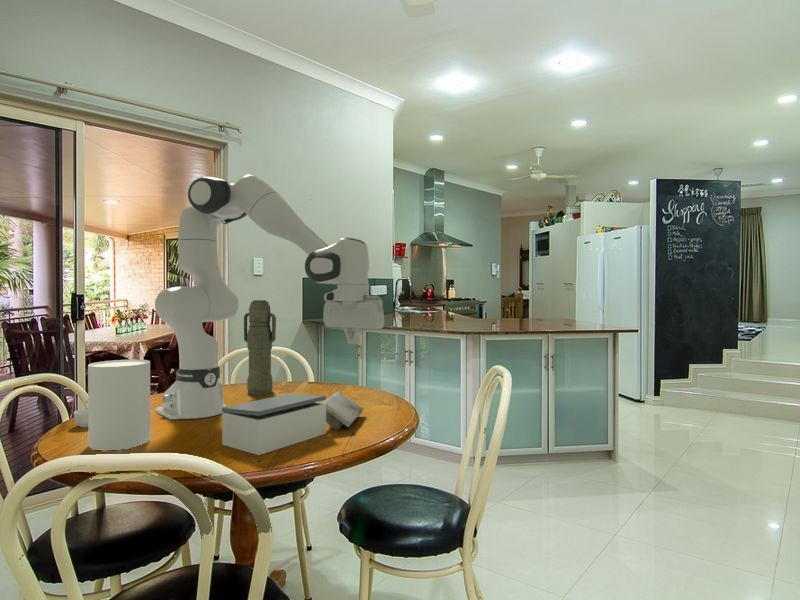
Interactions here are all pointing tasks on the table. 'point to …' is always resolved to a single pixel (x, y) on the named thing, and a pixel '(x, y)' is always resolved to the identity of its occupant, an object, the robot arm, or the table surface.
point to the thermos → (259, 347)
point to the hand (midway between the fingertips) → (353, 343)
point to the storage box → (273, 428)
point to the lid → (273, 404)
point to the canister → (118, 404)
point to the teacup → (81, 417)
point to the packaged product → (341, 410)
